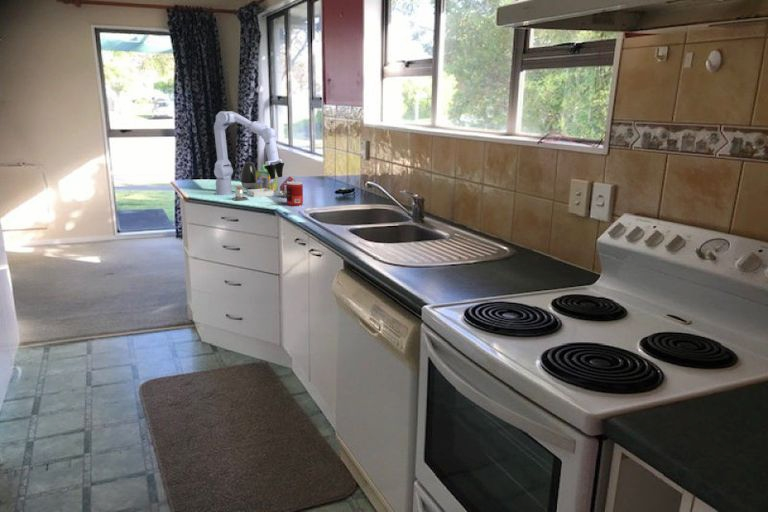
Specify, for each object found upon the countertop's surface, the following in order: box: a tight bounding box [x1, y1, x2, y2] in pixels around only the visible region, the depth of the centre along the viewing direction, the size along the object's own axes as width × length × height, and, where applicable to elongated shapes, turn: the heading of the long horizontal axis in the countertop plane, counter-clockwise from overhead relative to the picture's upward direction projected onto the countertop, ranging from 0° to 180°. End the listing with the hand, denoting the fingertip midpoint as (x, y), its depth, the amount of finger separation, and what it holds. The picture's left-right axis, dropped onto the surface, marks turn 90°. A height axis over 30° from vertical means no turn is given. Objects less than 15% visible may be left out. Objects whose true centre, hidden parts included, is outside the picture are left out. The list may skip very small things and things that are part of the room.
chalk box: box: [255, 164, 279, 192], centre depth 325 cm, size 9×9×15 cm
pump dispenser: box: [240, 161, 257, 189], centre depth 336 cm, size 10×10×15 cm
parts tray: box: [246, 188, 275, 198], centre depth 310 cm, size 11×11×3 cm
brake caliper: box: [278, 175, 297, 199], centre depth 305 cm, size 11×11×12 cm
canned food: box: [285, 181, 304, 207], centre depth 282 cm, size 8×8×11 cm
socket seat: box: [229, 196, 250, 202], centre depth 294 cm, size 8×8×1 cm
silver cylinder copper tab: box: [234, 185, 245, 200], centre depth 293 cm, size 4×4×6 cm
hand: (276, 178), depth 301 cm, fingers open, 7 cm apart
